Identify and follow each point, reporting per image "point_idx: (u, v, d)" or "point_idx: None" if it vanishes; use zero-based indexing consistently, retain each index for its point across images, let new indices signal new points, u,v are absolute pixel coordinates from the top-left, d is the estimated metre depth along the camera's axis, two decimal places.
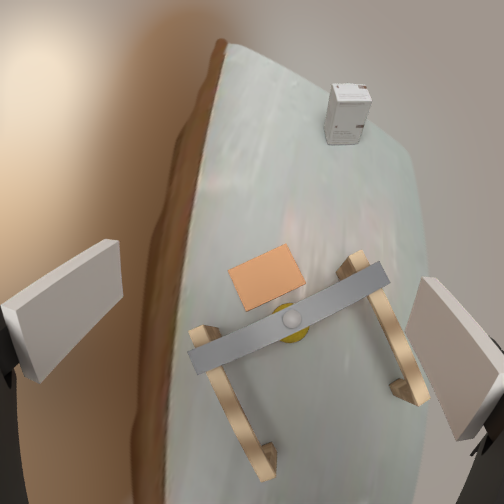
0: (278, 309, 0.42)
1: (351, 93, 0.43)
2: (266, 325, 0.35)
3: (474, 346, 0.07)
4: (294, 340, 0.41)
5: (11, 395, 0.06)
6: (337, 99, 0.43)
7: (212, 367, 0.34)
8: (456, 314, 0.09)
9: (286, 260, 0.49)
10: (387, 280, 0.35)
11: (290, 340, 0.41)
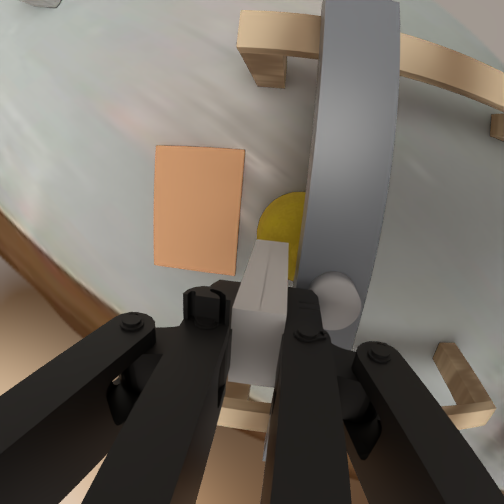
0: None
1: None
2: None
3: None
4: None
5: (216, 415, 0.07)
6: None
7: None
8: (270, 267, 0.11)
9: (184, 161, 0.23)
10: (389, 3, 0.08)
11: None
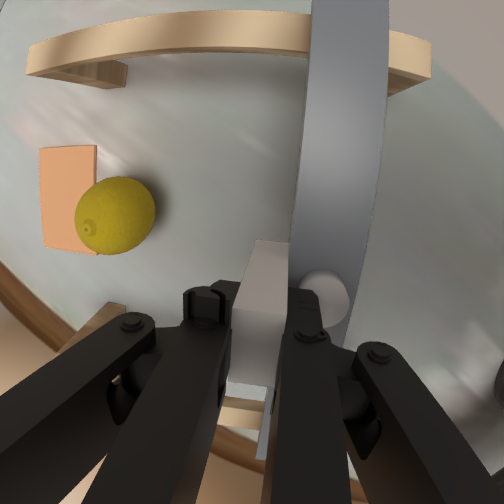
0: None
1: None
2: None
3: None
4: (135, 230, 0.20)
5: (216, 415, 0.07)
6: None
7: None
8: (270, 267, 0.11)
9: (56, 159, 0.24)
10: (378, 1, 0.09)
11: (131, 238, 0.20)
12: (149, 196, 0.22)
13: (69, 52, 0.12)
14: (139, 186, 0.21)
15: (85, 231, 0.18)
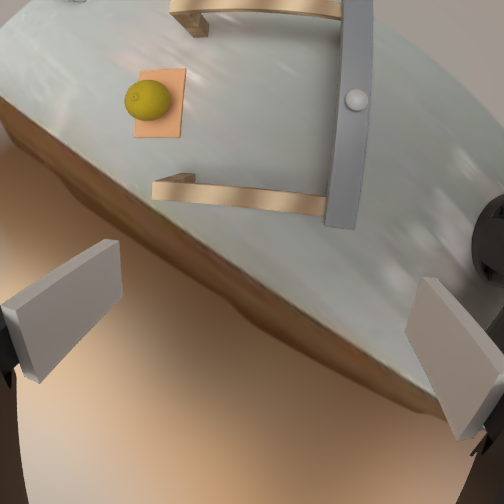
0: (125, 105, 0.34)
1: None
2: (345, 129, 0.27)
3: (474, 346, 0.07)
4: (160, 101, 0.34)
5: (11, 395, 0.06)
6: None
7: (356, 209, 0.29)
8: (456, 314, 0.09)
9: (154, 77, 0.38)
10: None
11: (157, 105, 0.34)
12: (167, 90, 0.36)
13: (201, 4, 0.26)
14: (162, 84, 0.35)
15: (133, 98, 0.32)
